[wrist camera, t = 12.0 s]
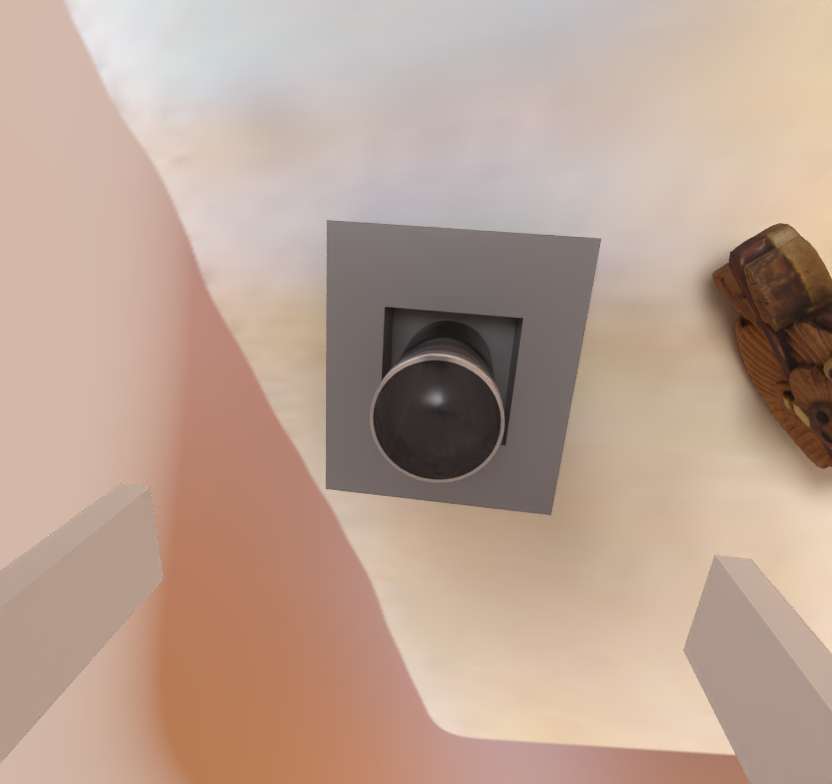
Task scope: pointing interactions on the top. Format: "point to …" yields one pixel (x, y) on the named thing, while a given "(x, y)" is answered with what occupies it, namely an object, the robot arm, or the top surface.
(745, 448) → the top surface
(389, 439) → the lens
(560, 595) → the top surface
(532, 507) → the grey recessed frame block
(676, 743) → the top surface
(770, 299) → the wooden carving
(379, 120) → the top surface
